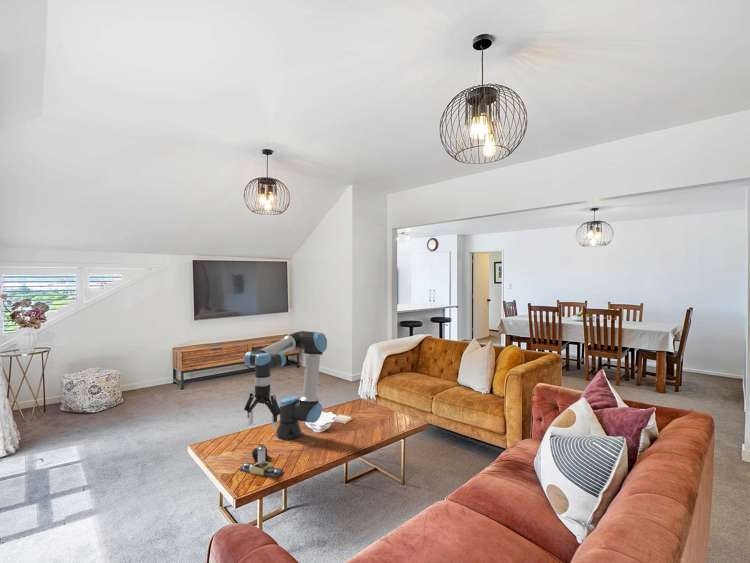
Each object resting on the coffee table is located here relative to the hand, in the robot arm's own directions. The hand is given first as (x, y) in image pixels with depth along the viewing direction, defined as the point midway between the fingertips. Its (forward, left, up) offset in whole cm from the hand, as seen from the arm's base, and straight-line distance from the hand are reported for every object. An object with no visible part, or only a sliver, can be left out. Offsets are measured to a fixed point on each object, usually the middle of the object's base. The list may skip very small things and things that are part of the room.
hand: (262, 426), depth 196 cm
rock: (-11, -9, -23) cm, 27 cm away
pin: (0, 0, -23) cm, 23 cm away
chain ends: (0, 0, -23) cm, 23 cm away
